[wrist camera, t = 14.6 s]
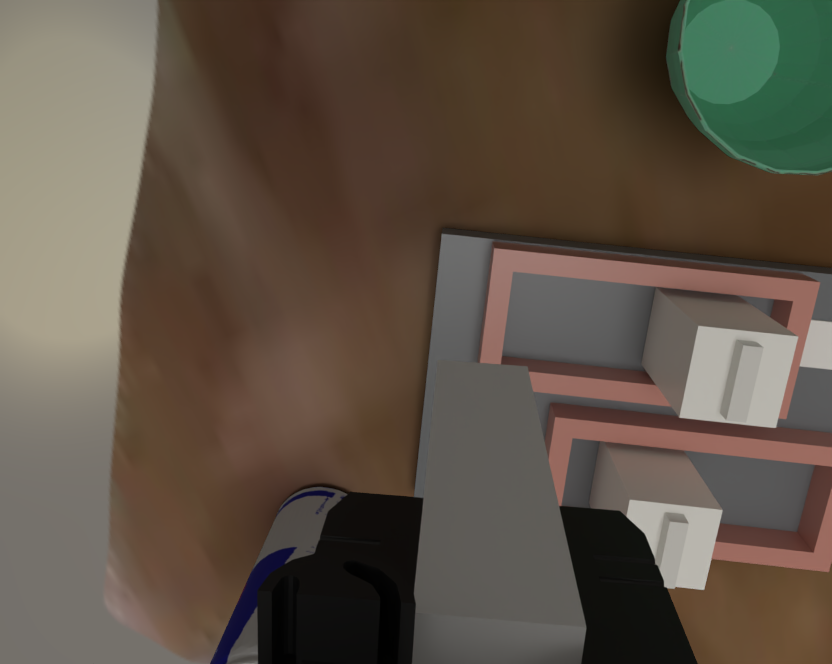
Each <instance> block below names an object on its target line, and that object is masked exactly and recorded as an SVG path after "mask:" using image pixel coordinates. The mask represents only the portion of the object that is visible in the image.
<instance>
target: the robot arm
mask: <svg viewBox="0 0 832 664" xmlns="http://www.w3.org/2000/svg"><path fill="white" fill-rule="evenodd" d="M257 623H258V664H697V661H696V659H695V656H694V654H693V651H692V649H691V646H690V644H689V641H688V639H687V636H686V634H685V632H684V629H683V627H682V624H681V622H680V619H679V617H678V614H677V612H676V609H675V607H674V604H673V602H672V600H671V597H670V595H669V592H668V590H667V587H664V580H663V577H662V575H661V572H660V570H659V568H658V565H655V558H654V555H653V553H652V550H651V548H650V545H649V543H648V540H647V538H646V535H645V533H643V532H642V531H641V530H640V529H639V528H638V527H637V526H636V525H635V524H634V523H633V522H632V521H630V520H629V519H628V518H627V517H626V516H625V515H624V514H623V513H622V512H621V511H618V510H606V509H593V508H581V507H568V506H559V504H558V499H557V495H556V490H555V486H554V482H553V477H552V473H551V468H550V464H549V459H548V455H547V451H546V446H545V442H544V437H543V433H542V429H541V424H540V420H539V415H538V411H537V406H536V402H535V398H534V393H533V389H532V384H531V380H530V375H529V371H528V367H527V366H516V365H502V364H489V363H475V362H461V361H447V360H438V363H437V372H436V382H435V392H434V402H433V411H432V421H431V431H430V441H429V450H428V460H427V470H426V480H425V489H424V498H420V497H407V496H395V495H382V494H369V493H357V492H350V493H349V494H347V495H346V496H345V497H344V498H343V499H342V500H340V501H339V502H338V503H337V504H336V505H335V506H333V507H332V508H331V509H330V510H329V511H328V513H327V516H326V519H325V522H324V525H323V528H322V531H321V534H320V540H319V541H318V544H317V547H316V550H315V553H314V554H311V555H308V556H304V557H300V558H296V559H293V560H291V561H289V562H287V563H286V564H284V565H282V566H281V567H279V568H277V569H276V570H274V571H272V572H271V573H270V574H269V575H268V577H267V578H266V579H265V581H264V582H263V583H262V585H261V586H260V587H259V589H258V590H257Z"/></svg>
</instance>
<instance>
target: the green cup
mask: <svg viewBox="0 0 832 664" xmlns="http://www.w3.org/2000/svg"><path fill="white" fill-rule="evenodd" d="M666 61H667V66H668V72H669V77H670V83H671V88H672V90H673V91H674V93H675V95H676V97H677V99H678V100H679V102H680V104H681V106H682V108H683V109H684V111H685V113H686V115H687V116H688V118H689V119H690V120H691V121H692V123H693V124H694V125H695V126H696V128H697V129H698V130H699V131H700V132H701V133H702V134H703V135H705V136H706V137H707V138H708V139H709V140H710V141H711V142H713V143H714V144H715V145H716V146H717V147H718V148H719V149H721V150H722V151H723V152H724V153H725V154H726V155H727V156H729V157H731V158H734V159H736V160H739V161H741V162H744V163H746V164H749V165H752V166H754V167H757V168H759V169H762V170H764V171H767V172H770V173H776V174H798V175H821V174H824V173H828V172H832V0H680V1H679V4H678V6H677V8H676V10H675V12H674V15H673V17H672V19H671V23H670V29H669V37H668V45H667V53H666Z"/></svg>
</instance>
